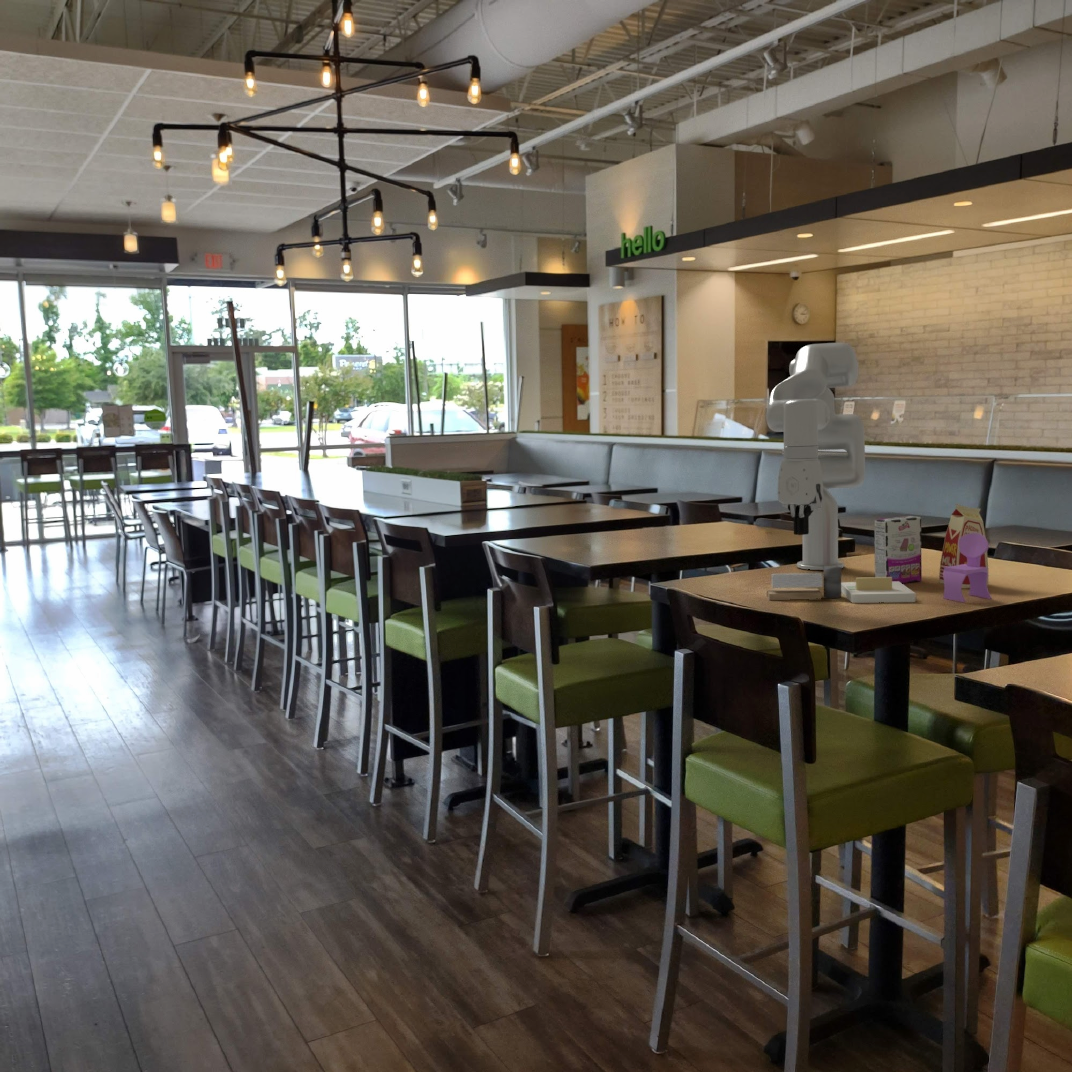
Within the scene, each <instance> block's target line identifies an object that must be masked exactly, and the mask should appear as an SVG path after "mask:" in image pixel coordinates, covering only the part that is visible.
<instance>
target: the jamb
mask: <svg viewBox="0 0 1072 1072" xmlns="http://www.w3.org/2000/svg"><path fill="white" fill-rule="evenodd" d="M841 582H842V568H841V567H837V566H827V567H824V570H823V598H825V597H828V598H827V599H840V598H842V592H841ZM766 597H767V598H768V600H769V601H791V600H790V599H808V598H810V599H809V600H822V599H821V598H822V592H821V590H820V589H819V587H814V588H770V589H767V588H766ZM816 598H818V599H816ZM819 598H820V599H819Z"/></svg>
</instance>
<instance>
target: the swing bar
mask: <svg viewBox="0 0 1072 1072" xmlns="http://www.w3.org/2000/svg"><path fill="white" fill-rule="evenodd" d="M771 588H772V589H794V588H823V573H821V572H794V573H793V572H791V573H789V572H787V573H771Z"/></svg>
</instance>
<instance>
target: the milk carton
mask: <svg viewBox="0 0 1072 1072" xmlns="http://www.w3.org/2000/svg"><path fill="white" fill-rule="evenodd" d="M954 506H955V510H954V511H953V512H952V513H951V516H950V519H949V523H948V525H947V526H948V527H947V529H946V533H945V536H944V541H943V547H942V551H941V558H940V564H939V575H938V583H939V584H943V585H944V578H943V572H944V567H947V566H957V565H962V564H967V557H966V556H964V555H963V554H962V553H960V549H959V544H958V542H959V539H960V538H961V537H962V536H964V535H966V534H969V533H979V534H982V535H983V536H984V537H985V538H986V532H985V531H986V530H985V526H984V521H983V518H982V516H981V514H980V511H981V510H982V508H978V507H967V506H965V505H961V504H958V503H955V505H954ZM980 567H987V572H988V573H989V561H988V550H987V551H986V552H985V553H984V554H982V555H981V559H980ZM989 583H990V582H989V577H988V578H987V587H988V586H989ZM961 589H970V581H969V577H968V575H967V576H966V577H965V579H964V581H963V583H962V586H961Z"/></svg>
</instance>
